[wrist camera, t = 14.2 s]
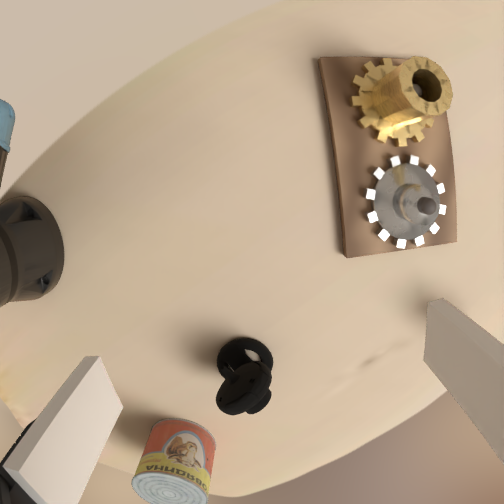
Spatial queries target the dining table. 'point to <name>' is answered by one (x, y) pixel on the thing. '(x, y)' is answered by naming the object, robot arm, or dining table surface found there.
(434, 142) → the gear board
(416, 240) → the steel gear
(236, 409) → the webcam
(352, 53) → the dining table surface
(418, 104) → the brass gear
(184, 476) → the canned food
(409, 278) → the dining table surface
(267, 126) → the dining table surface
